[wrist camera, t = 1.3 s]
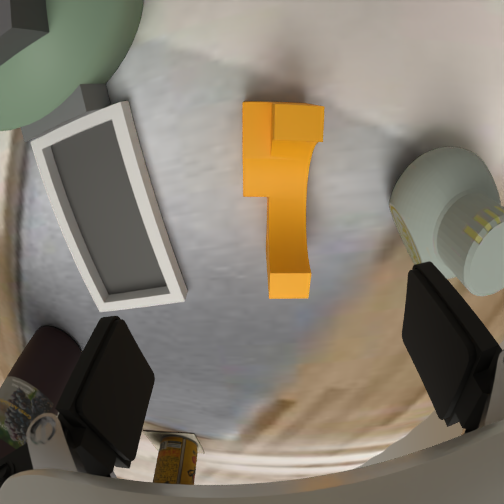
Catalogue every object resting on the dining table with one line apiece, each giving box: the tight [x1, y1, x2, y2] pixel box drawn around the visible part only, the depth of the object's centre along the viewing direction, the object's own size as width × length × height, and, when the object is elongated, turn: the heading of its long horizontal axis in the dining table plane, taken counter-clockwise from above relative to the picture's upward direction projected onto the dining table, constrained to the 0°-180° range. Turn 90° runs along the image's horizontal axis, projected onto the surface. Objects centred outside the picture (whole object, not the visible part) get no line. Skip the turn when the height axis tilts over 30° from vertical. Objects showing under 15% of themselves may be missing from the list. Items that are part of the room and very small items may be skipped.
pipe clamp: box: [243, 101, 324, 299], centre depth 21 cm, size 12×4×6 cm, turn 0°
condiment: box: [142, 431, 204, 485], centre depth 37 cm, size 7×8×12 cm
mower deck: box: [0, 0, 188, 312], centre depth 16 cm, size 17×35×9 cm, turn 11°
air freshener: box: [389, 147, 504, 296], centre depth 19 cm, size 11×8×10 cm
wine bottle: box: [0, 326, 82, 459], centre depth 19 cm, size 7×7×30 cm
